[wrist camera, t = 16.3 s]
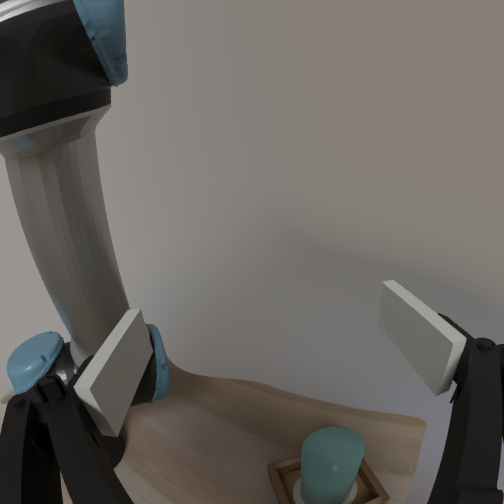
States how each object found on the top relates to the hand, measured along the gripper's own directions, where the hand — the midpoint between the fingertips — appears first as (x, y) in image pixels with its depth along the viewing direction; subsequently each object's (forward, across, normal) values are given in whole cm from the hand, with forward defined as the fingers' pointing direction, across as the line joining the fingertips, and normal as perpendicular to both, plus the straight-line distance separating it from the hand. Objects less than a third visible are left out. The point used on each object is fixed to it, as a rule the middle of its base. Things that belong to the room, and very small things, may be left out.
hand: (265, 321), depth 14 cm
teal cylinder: (+4, +6, -32) cm, 33 cm away
